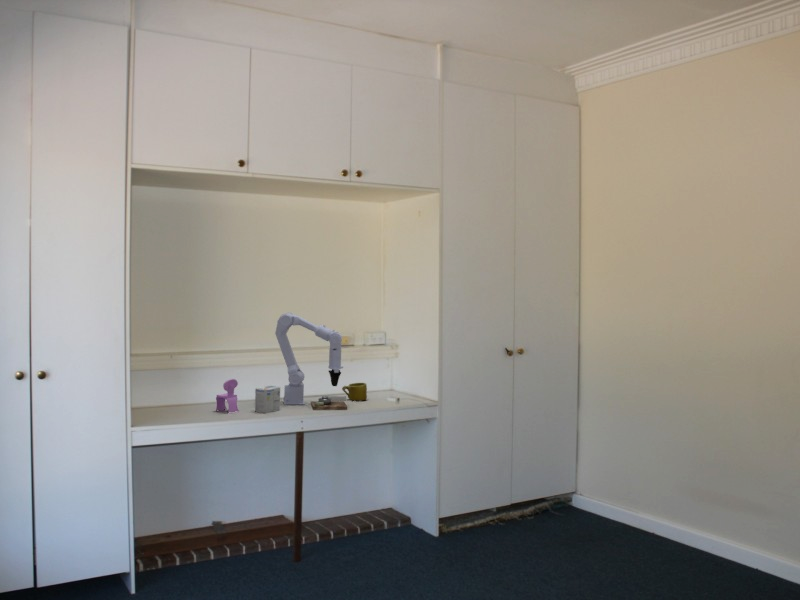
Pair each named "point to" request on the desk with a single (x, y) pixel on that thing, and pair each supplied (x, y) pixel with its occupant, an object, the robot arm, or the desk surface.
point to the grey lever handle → (331, 399)
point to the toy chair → (228, 396)
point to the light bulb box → (267, 399)
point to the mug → (356, 391)
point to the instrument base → (329, 405)
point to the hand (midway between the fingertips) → (334, 385)
